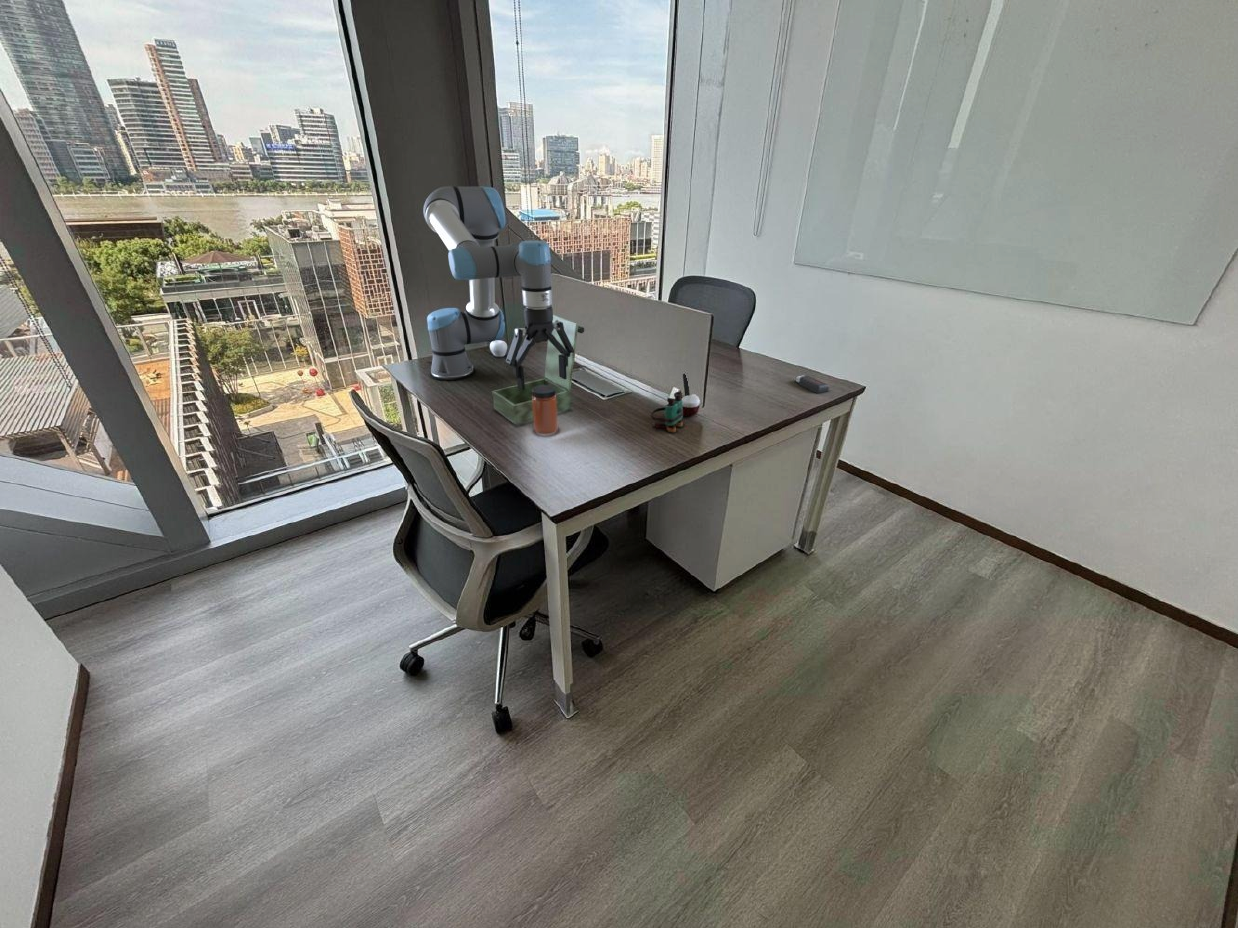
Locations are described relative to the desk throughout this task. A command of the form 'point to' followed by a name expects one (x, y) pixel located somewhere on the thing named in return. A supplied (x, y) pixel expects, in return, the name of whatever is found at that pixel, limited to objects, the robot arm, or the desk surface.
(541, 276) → the robot arm
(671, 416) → the binoculars
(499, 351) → the plain white apple
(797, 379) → the usb drive
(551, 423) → the jar
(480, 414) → the desk surface
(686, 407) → the rice bowl with chopsticks
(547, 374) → the lid
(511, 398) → the chest
